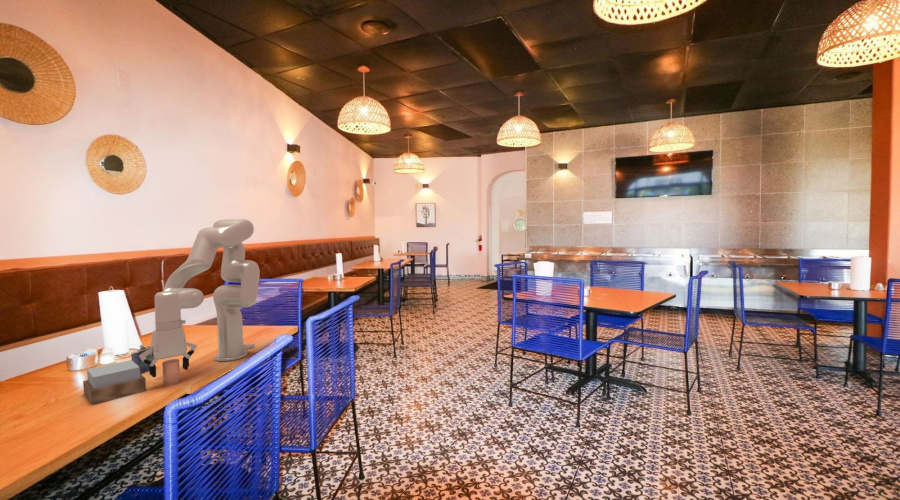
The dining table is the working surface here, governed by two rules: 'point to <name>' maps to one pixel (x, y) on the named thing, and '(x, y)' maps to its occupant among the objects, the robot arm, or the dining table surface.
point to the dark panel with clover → (137, 359)
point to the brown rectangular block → (171, 372)
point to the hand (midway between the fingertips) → (169, 372)
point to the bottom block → (113, 390)
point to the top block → (113, 374)
